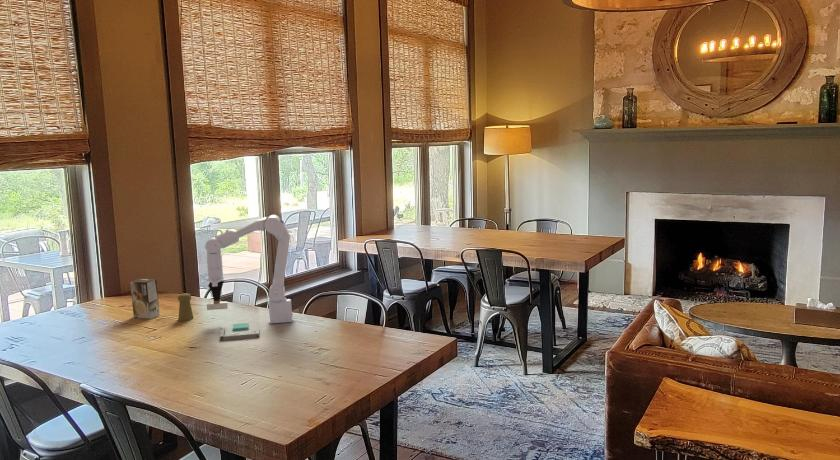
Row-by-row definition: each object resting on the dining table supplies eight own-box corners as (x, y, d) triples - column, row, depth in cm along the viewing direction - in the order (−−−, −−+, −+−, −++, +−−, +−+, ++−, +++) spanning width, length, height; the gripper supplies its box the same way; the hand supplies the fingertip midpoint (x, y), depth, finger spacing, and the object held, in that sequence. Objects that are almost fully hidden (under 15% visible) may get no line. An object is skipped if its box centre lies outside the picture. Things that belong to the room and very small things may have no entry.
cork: (190, 320, 266) (188, 295, 265) (176, 321, 266) (174, 295, 265) (195, 316, 272) (193, 291, 271) (181, 316, 272) (179, 292, 271)
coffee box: (160, 315, 276) (157, 279, 273) (150, 319, 270) (147, 282, 267) (143, 313, 278) (140, 277, 276) (132, 317, 272) (129, 281, 270)
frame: (259, 329, 254) (259, 325, 253) (259, 337, 244) (259, 333, 244) (221, 332, 250) (221, 328, 250) (220, 340, 240) (220, 336, 240)
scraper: (227, 307, 262) (226, 288, 261) (227, 308, 260) (226, 289, 259) (207, 308, 260) (206, 289, 259) (206, 310, 258) (205, 291, 257)
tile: (248, 326, 259) (248, 322, 259) (248, 330, 254) (248, 327, 253) (233, 327, 258) (233, 324, 258) (233, 332, 252) (232, 328, 252)
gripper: (206, 264, 263) (208, 296, 266) (203, 271, 250) (205, 305, 252) (223, 263, 265) (225, 294, 267) (221, 270, 251) (224, 303, 253)
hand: (217, 299), depth 260 cm, fingers closed on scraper, 2 cm apart
